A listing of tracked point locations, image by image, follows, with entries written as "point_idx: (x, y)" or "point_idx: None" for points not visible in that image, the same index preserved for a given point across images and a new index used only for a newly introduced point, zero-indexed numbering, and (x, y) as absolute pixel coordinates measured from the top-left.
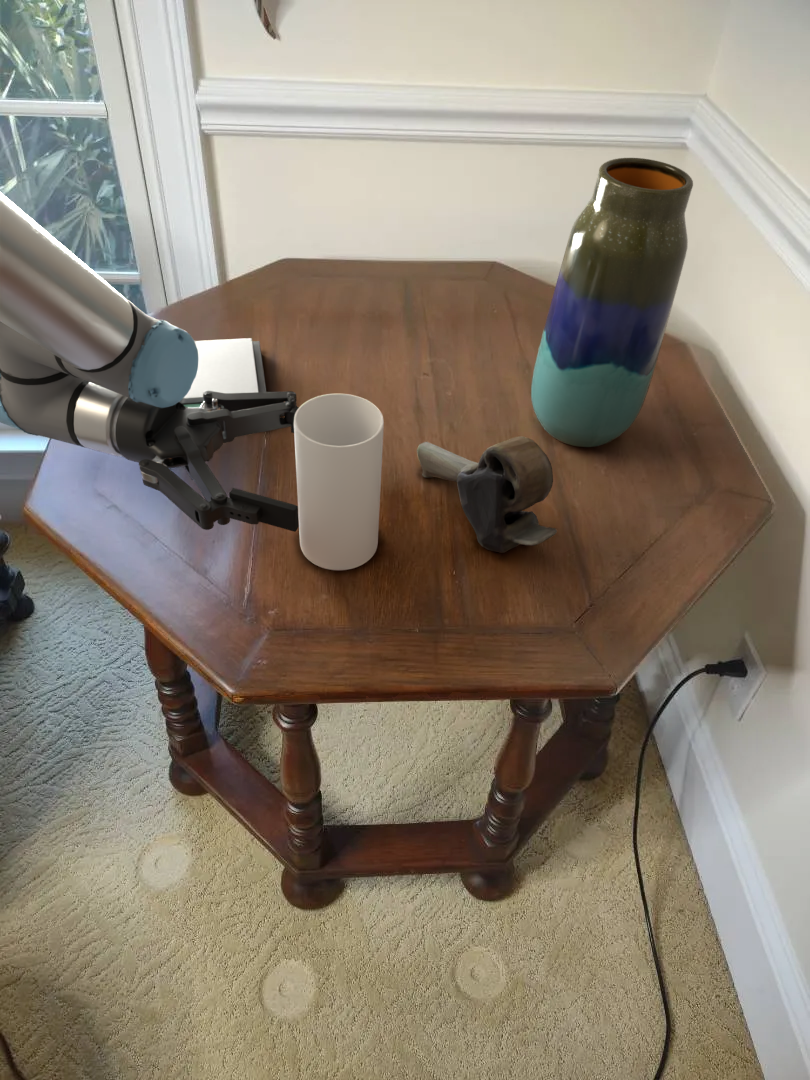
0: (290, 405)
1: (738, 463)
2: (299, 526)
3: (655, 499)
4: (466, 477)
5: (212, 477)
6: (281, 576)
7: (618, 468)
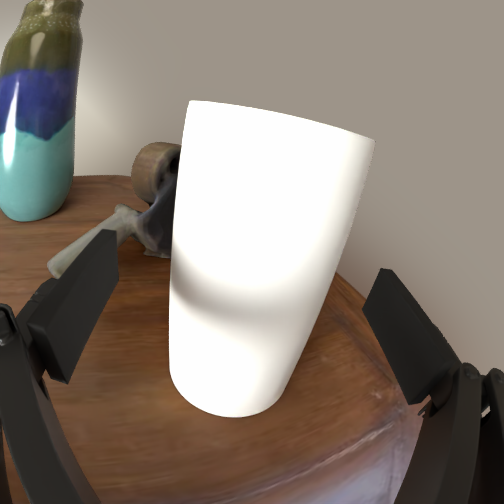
0: (11, 330)
1: (87, 176)
2: (277, 383)
3: (116, 194)
4: (155, 207)
5: (461, 420)
6: (328, 411)
7: (83, 201)
